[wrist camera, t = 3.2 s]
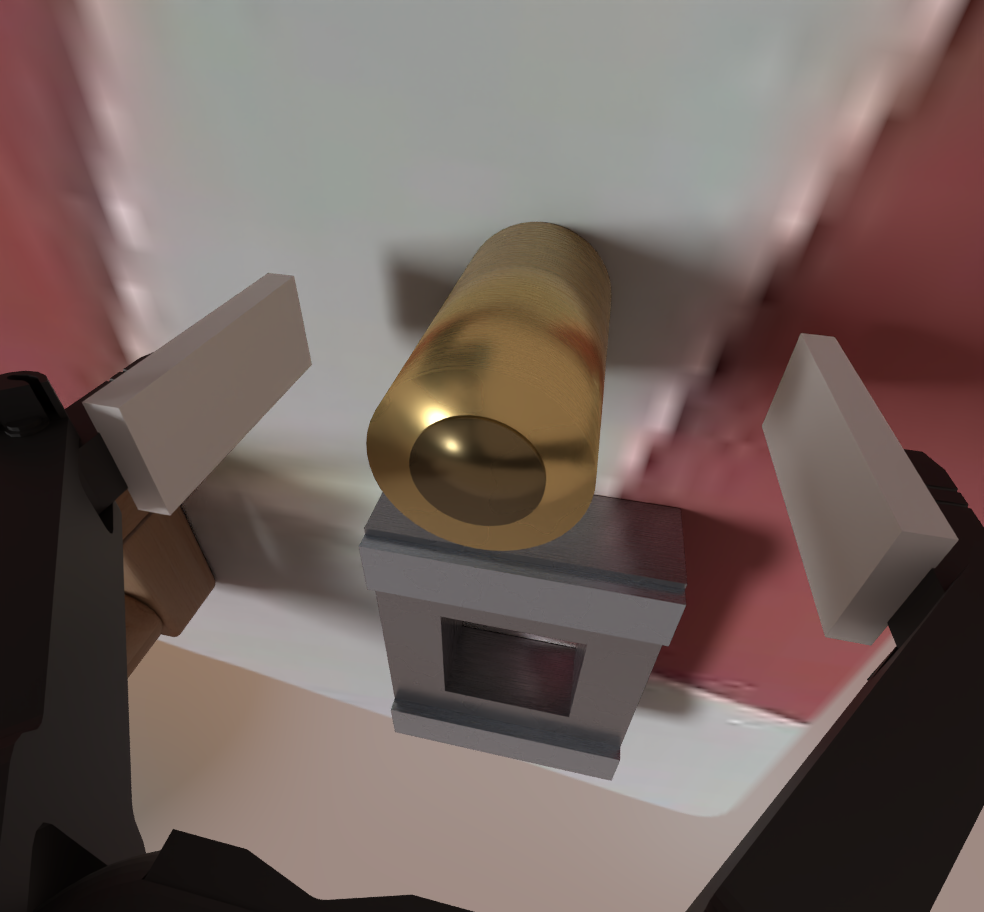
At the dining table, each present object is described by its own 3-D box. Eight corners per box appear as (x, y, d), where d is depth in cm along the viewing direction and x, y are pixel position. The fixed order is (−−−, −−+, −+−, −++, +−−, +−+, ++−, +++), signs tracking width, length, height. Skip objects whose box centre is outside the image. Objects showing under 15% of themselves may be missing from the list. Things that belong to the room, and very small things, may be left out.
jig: (397, 464, 22) (357, 540, 19) (680, 508, 20) (688, 599, 17) (419, 662, 31) (395, 734, 28) (613, 702, 30) (610, 783, 27)
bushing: (464, 215, 15) (348, 358, 9) (623, 229, 15) (614, 393, 9) (465, 354, 18) (376, 536, 12) (599, 371, 18) (578, 571, 11)
